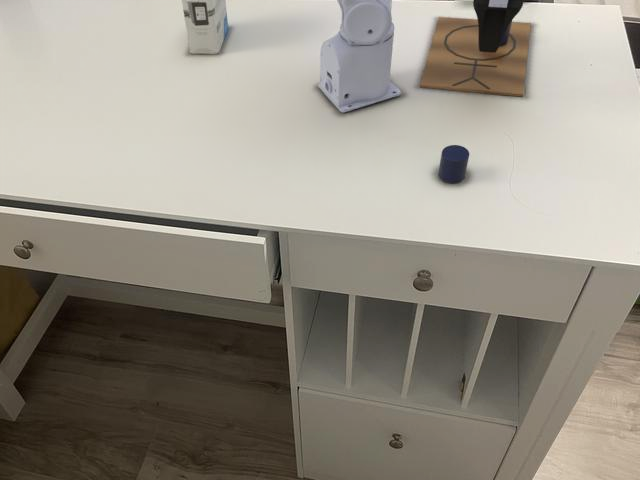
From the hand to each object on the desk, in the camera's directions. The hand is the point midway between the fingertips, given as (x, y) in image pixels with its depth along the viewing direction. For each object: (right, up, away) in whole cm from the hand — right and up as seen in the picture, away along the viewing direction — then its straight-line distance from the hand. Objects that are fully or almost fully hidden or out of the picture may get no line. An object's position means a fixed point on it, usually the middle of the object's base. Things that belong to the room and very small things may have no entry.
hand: (490, 35), depth 87 cm
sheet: (+3, +2, +12) cm, 13 cm away
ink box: (-38, +8, +23) cm, 45 cm away
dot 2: (+6, +5, +14) cm, 16 cm away
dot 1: (-6, -19, -5) cm, 21 cm away
